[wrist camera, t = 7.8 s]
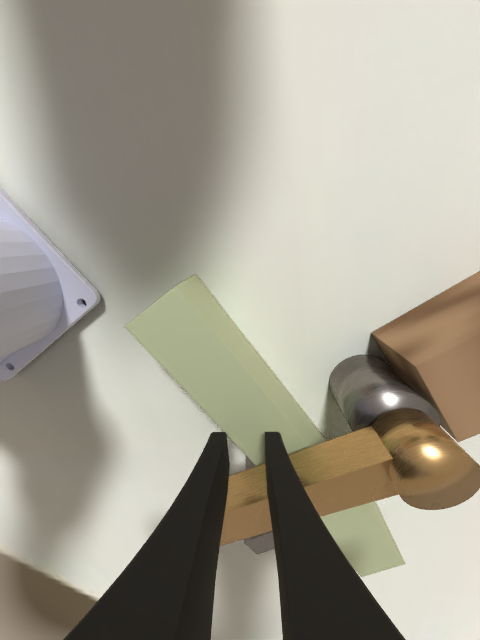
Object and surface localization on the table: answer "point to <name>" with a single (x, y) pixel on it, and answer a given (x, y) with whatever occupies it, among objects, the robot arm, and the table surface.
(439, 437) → the latch bar
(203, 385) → the pale green bar
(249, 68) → the table surface
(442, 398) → the block
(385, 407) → the pivot post and stop
